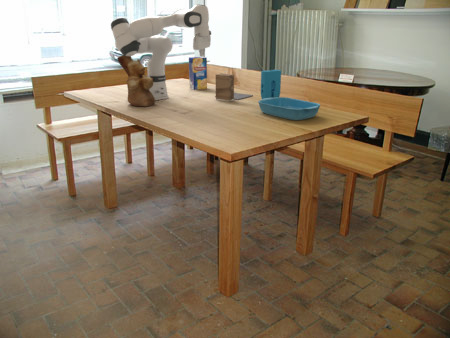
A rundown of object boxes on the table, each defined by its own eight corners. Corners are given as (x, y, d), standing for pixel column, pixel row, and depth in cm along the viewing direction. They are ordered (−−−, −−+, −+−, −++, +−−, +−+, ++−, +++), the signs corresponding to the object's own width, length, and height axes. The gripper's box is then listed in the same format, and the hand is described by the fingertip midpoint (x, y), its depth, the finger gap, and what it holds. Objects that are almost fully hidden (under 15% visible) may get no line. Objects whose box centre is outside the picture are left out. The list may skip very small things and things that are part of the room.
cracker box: (207, 88, 329) (206, 57, 322) (193, 89, 324) (193, 58, 317) (202, 87, 335) (202, 56, 327) (189, 88, 329) (188, 57, 322)
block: (275, 102, 280) (276, 69, 273) (280, 103, 276) (281, 70, 269) (259, 104, 274) (260, 70, 268) (264, 105, 270) (265, 71, 264)
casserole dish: (250, 112, 255) (250, 99, 253) (278, 106, 268) (279, 94, 266) (299, 124, 228) (299, 110, 225) (327, 118, 241) (328, 104, 239)
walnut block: (228, 101, 283) (228, 75, 277) (215, 99, 288) (215, 74, 283) (233, 100, 287) (234, 74, 282) (221, 98, 293) (221, 73, 287)
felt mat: (237, 100, 287) (237, 99, 286) (215, 97, 297) (215, 96, 297) (253, 96, 300) (253, 95, 300) (231, 93, 310) (231, 92, 310)
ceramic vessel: (147, 108, 264) (144, 55, 254) (115, 105, 270) (110, 54, 260) (159, 103, 278) (157, 53, 268) (128, 101, 285) (125, 52, 275)
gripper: (200, 34, 264) (200, 58, 269) (212, 31, 282) (212, 54, 287) (190, 33, 266) (190, 57, 271) (202, 31, 284) (203, 54, 289)
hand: (202, 56), depth 279 cm, fingers closed
